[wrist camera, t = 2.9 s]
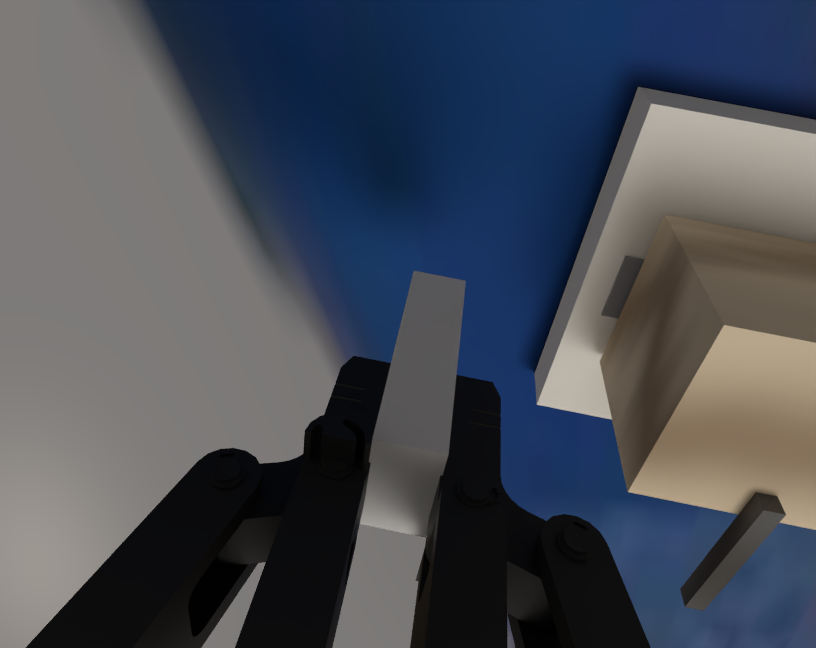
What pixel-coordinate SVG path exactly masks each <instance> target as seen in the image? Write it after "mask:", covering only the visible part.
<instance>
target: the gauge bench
mask: <svg viewBox="0 0 816 648" xmlns="http://www.w3.org/2000/svg"><path fill="white" fill-rule="evenodd" d="M664 214H665V215H670V216H675V217H680V218H686V219H691V220H696V221H701V222H707V223H712V224H717V225H722V226H728V227H733V228H738V229H743V230H749V231H754V232H759V233H764V234H769V235H775V236H780V237H785V238H790V239H796V240H801V241H806V242H811V243H816V120H814V119H809V118H804V117H798V116H793V115H788V114H782V113H777V112H771V111H766V110H761V109H755V108H750V107H745V106H739V105H734V104H728V103H723V102H718V101H712V100H707V99H701V98H696V97H691V96H685V95H680V94H675V93H669V92H664V91H658V90H653V89H648V88H642V87H638V89H637V91H636V94H635V97H634V100H633V102H632V105H631V108H630V111H629V113H628V116H627V119H626V122H625V125H624V127H623V130H622V133H621V136H620V138H619V141H618V144H617V147H616V149H615V152H614V155H613V158H612V161H611V163H610V166H609V169H608V172H607V174H606V177H605V180H604V183H603V185H602V188H601V191H600V194H599V197H598V199H597V202H596V205H595V208H594V210H593V213H592V216H591V219H590V221H589V224H588V227H587V230H586V233H585V235H584V238H583V241H582V244H581V246H580V249H579V252H578V255H577V257H576V260H575V263H574V266H573V269H572V271H571V274H570V277H569V280H568V282H567V285H566V288H565V291H564V293H563V296H562V299H561V302H560V305H559V307H558V310H557V313H556V316H555V318H554V321H553V324H552V327H551V329H550V332H549V335H548V338H547V341H546V343H545V346H544V349H543V352H542V354H541V357H540V360H539V363H538V365H537V368H536V371H535V384H536V399H537V405H542V406H547V407H552V408H557V409H562V410H567V411H572V412H577V413H582V414H587V415H592V416H597V417H602V418H607V419H612V417H611V412H610V408H609V403H608V398H607V394H606V389H605V385H604V380H603V375H602V371H601V366H600V359H601V357H602V355H603V353H604V350H605V348H606V346H607V344H608V341H609V339H610V337H611V335H612V332H613V330H614V328H615V325H616V323H617V321H618V319H619V316H620V314H621V312H622V310H623V307H624V305H625V303H626V301H627V298H628V296H629V294H630V291H631V289H632V287H633V285H634V282H635V280H636V278H637V276H638V273H639V271H640V269H641V267H642V264H643V262H644V260H645V257H646V255H647V253H648V251H649V248H650V246H651V244H652V242H653V239H654V237H655V235H656V232H657V230H658V228H659V226H660V223H661V221H662V219H663V217H664Z"/></svg>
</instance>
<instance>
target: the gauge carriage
mask: <svg viewBox="0 0 816 648" xmlns="http://www.w3.org/2000/svg"><path fill="white" fill-rule="evenodd" d="M600 366H601V371H602V375H603V380H604V385H605V389H606V394H607V398H608V403H609V408H610V412H611V417H612V422H613V426H614V431H615V435H616V440H617V445H618V449H619V454H620V458H621V463H622V468H623V472H624V477H625V481H626V486H627V491H628V492H631V493H636V494H641V495H646V496H651V497H656V498H660V499H665V500H670V501H675V502H680V503H685V504H690V505H695V506H700V507H705V508H710V509H715V510H720V511H725V512H730V513H735V514H739V515H738V516H737V517H736V518H735V520H734V521H733V522H732V523H731V525H730V526H729V527H728V529H727V530H726V531H725V532H724V534H723V535H722V536H721V538H720V539H719V540H718V541H717V543H716V544H715V545H714V547H713V548H712V549H711V550H710V552H709V553H708V554H707V555H706V557H705V558H704V559H703V561H702V562H701V563H700V564H699V566H698V567H697V568H696V570H695V571H694V572H693V573H692V575H691V576H690V577H689V579H688V580H687V581H686V582H685V584H684V585H683V586H682V588H681V589H680V590H681V593H682V597H683V601H684V605H685V607H689V608H693V609H698V610H703V611H704V610H705V609H706V607H707V606H708V605H709V604H710V603H711V602H712V600H713V599H714V598H715V597H716V596H717V595H718V594H719V592H720V591H721V590H722V589H723V588H724V587H725V585H726V584H727V583H728V582H729V581H730V580H731V578H732V577H733V576H734V575H735V574H736V573H737V571H738V570H739V569H740V568H741V567H742V566H743V564H744V563H745V562H746V561H747V560H748V559H749V557H750V556H751V555H752V554H753V553H754V552H755V550H756V549H757V548H758V547H759V546H760V545H761V543H762V542H763V541H764V540H765V539H766V538H767V536H768V535H769V534H770V533H771V532H772V531H773V530H774V528H775V527H776V526H777V525H778V524H779V523H784V524H789V525H794V526H799V527H804V528H809V529H814V530H816V243H811V242H806V241H801V240H796V239H790V238H785V237H780V236H775V235H769V234H764V233H759V232H754V231H749V230H743V229H738V228H733V227H728V226H722V225H717V224H712V223H707V222H701V221H696V220H691V219H686V218H680V217H675V216H670V215H665V214H664V217H663V219H662V221H661V223H660V226H659V228H658V230H657V232H656V235H655V237H654V239H653V242H652V244H651V246H650V248H649V251H648V253H647V255H646V257H645V260H644V262H643V264H642V267H641V269H640V271H639V273H638V276H637V278H636V280H635V282H634V285H633V287H632V289H631V291H630V294H629V296H628V298H627V301H626V303H625V305H624V307H623V310H622V312H621V314H620V316H619V319H618V321H617V323H616V325H615V328H614V330H613V332H612V335H611V337H610V339H609V341H608V344H607V346H606V348H605V350H604V353H603V355H602V357H601V359H600Z"/></svg>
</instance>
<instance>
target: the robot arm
mask: <svg viewBox="0 0 816 648" xmlns="http://www.w3.org/2000/svg"><path fill="white" fill-rule="evenodd" d="M465 283H466V281H464V280H459V279H453V278H448V277H443V276H438V275H433V274H428V273H423V272H418V271H414V273H413V277H412V281H411V285H410V289H409V293H408V297H407V301H406V305H405V309H404V313H403V317H402V321H401V325H400V329H399V333H398V337H397V341H396V345H395V349H394V353H393V357H392V362H391V363H387V362H382V361H377V360H372V359H367V358H362V357H357V356H353V357H352V358H351V359H350V360H349V361H348V362H347V363H345V364H344V365H343V366H342V367H341V369H340V372H339V375H338V378H337V380H336V384H335V386H334V389H333V392H332V395H331V398H330V400H329V403H328V406H327V409H326V412H325V414H324V415H323V416H320V417H318V418H317V419H315V420H314V421H312V422H311V423H310V424H309V426H308V427H307V428H306V430H305V437H304V454H302V455H301V456H299V457H297V458H295V459H292V460H289V461H285V462H278V463H264V464H259V462H258V461H257V459H256V457H254V456H253V455H251V454H250V453H248V452H247V451H244V450H240V449H235V448H229V449H220V450H217V451H214V452H211V453H208V454H207V455H206V456H204V457H203V458H202V459H200V460H199V461H198V462H197V463H196V464H195V465H194V466H193V467H192V468H191V469H190V471H188V473H187V474H186V475H185V476H184V477H183V478H182V479H181V480H180V481H179V482H178V484H176V486H175V487H174V488H173V489H172V490H171V491H170V492H169V493H168V494H167V495H166V497H165V498H164V499H163V500H162V501H161V502H160V503H159V504H158V505H157V506H156V507H155V508H154V509H153V510H152V512H151V513H150V514H149V515H148V516H147V517H146V518H145V519H144V520H143V521H142V522H141V523H140V525H139V526H138V527H137V528H136V529H135V530H134V531H133V532H132V533H131V534H130V535H129V536H128V538H127V539H126V540H125V541H124V542H123V543H122V544H121V545H120V546H119V547H118V548H117V549H116V550H115V552H114V553H113V554H112V555H111V556H110V557H109V558H108V559H107V560H106V561H105V562H104V564H103V565H102V566H101V567H100V568H99V569H98V570H97V571H96V572H95V573H94V574H93V576H92V577H91V578H90V579H89V580H88V581H87V582H86V583H85V584H84V585H83V586H82V587H81V588H80V590H79V591H78V592H77V593H76V594H75V595H74V596H73V597H72V598H71V599H70V600H69V602H67V604H66V605H65V606H64V607H63V608H62V609H61V610H60V611H59V612H58V614H56V615H55V616H54V618H53V619H52V620H51V621H50V622H49V623H48V624H47V625H46V626H45V627H44V628H43V629H42V631H41V632H40V633H39V634H38V635H37V636H36V637H35V638H34V639H33V640H32V641H31V643H30V644H29V645H28V646H27V647H26V648H201V647H202V646H203V644H204V643H205V641H206V640H207V638H208V637H209V635H210V634H211V632H212V631H213V629H214V628H215V627H216V625H217V624H218V622H219V621H220V619H221V618H222V616H223V615H224V613H225V612H226V610H227V609H228V607H229V606H230V604H231V603H232V601H233V600H234V598H235V597H236V595H237V594H238V592H239V591H240V589H241V588H242V586H243V585H244V584H245V582H246V581H247V579H248V578H249V576H250V575H251V573H252V572H253V570H254V569H255V567H256V565H257V564H258V563H261V562H266V564H265V566H264V569H263V572H262V575H261V577H260V580H259V583H258V586H257V588H256V591H255V594H254V597H253V599H252V602H251V605H250V608H249V611H248V613H247V616H246V619H245V622H244V624H243V627H242V630H241V633H240V636H239V638H238V641H237V644H236V647H235V648H332V646H333V642H334V638H335V633H336V628H337V625H338V620H339V615H340V611H341V607H342V603H343V598H344V594H345V590H346V585H347V580H348V576H349V572H350V567H351V563H352V559H353V554H354V550H355V545H356V539H357V533H358V529H359V524H363V525H368V526H373V527H377V528H383V529H388V530H392V531H397V532H402V533H407V534H412V535H416V536H421V537H426V534H427V537H426V545H425V549H424V553H423V556H422V560H421V564H420V567H419V571H418V575H417V578H416V581H419V583H418V590H417V598H416V606H415V615H414V622H413V630H412V638H411V645H410V648H507V613H508V618H509V623H510V627H511V631H512V635H513V639H514V643H515V648H650V645H649V643H648V640H647V638H646V636H645V633H644V631H643V628H642V626H641V624H640V621H639V619H638V616H637V614H636V612H635V609H634V607H633V604H632V602H631V600H630V597H629V595H628V592H627V590H626V588H625V585H624V583H623V580H622V578H621V576H620V573H619V571H618V568H617V566H616V564H615V561H614V559H613V556H612V554H611V552H610V549H609V547H608V545H607V543H606V541H605V539H604V538H603V536H602V535H601V533H600V532H599V531H598V530H597V529H596V528H595V527H594V526H593V525H591V524H590V523H589V522H587V521H585V520H583V519H581V518H579V517H577V516H572V515H566V514H562V515H557V516H553V517H551V518H550V519H549V520H548V521H545V520H543V519H541V518H539V517H537V516H535V515H533V514H531V513H529V512H527V511H526V510H524V509H522V508H521V507H519V506H518V505H517V504H516V503H515V502H514V501H512V500H511V499H510V497H509V496H508V495H507V493H506V492H505V490H504V488H503V485H502V483H501V476H500V452H501V430H500V427H501V417H500V414H501V398H500V396H499V394H498V392H497V390H496V388H495V386H494V384H493V382H489V381H484V380H479V379H474V378H469V377H464V376H459V375H456V374H457V363H458V353H459V343H460V333H461V323H462V313H463V303H464V293H465Z"/></svg>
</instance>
